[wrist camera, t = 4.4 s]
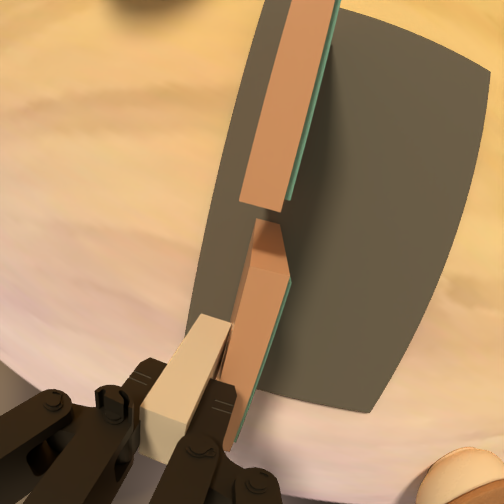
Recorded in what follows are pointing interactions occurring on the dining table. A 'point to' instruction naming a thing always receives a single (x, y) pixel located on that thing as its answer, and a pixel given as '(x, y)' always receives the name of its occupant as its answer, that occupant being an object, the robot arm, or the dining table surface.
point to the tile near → (289, 103)
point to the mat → (351, 204)
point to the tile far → (254, 319)
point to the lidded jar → (464, 479)
